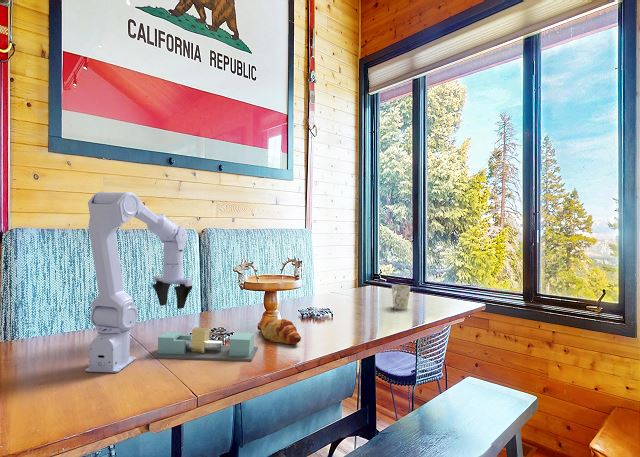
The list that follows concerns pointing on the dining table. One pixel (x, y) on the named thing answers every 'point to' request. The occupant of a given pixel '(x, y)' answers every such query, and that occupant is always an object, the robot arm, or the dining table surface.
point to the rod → (202, 341)
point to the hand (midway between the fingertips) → (171, 306)
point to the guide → (176, 349)
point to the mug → (400, 296)
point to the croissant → (280, 331)
